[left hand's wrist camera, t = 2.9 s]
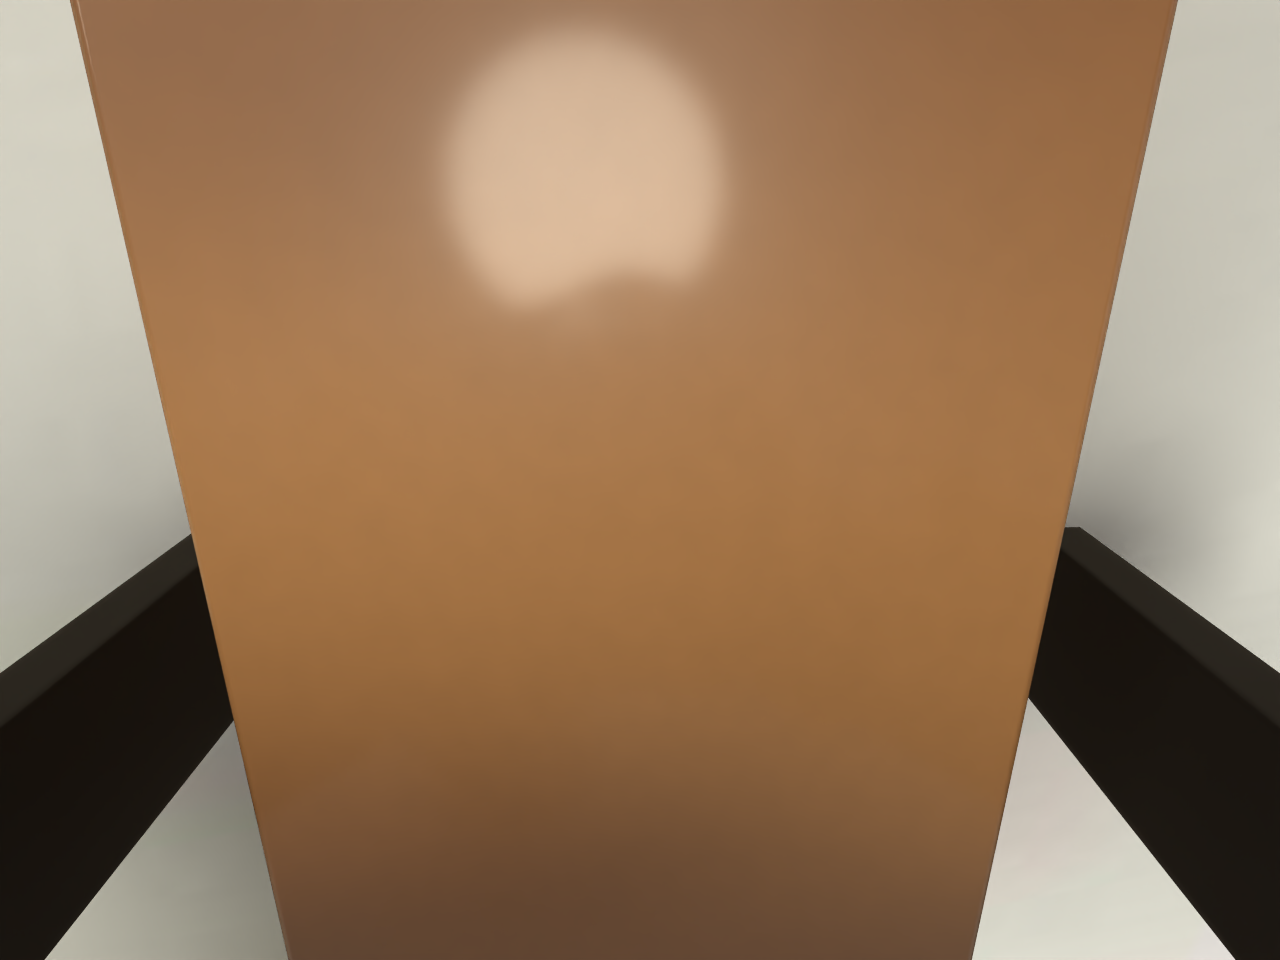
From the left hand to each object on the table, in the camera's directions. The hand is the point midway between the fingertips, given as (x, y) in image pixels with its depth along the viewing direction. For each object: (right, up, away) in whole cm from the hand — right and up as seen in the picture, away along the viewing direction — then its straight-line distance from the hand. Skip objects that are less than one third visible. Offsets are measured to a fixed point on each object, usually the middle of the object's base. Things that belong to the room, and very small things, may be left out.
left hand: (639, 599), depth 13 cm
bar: (0, +13, -2) cm, 14 cm away
